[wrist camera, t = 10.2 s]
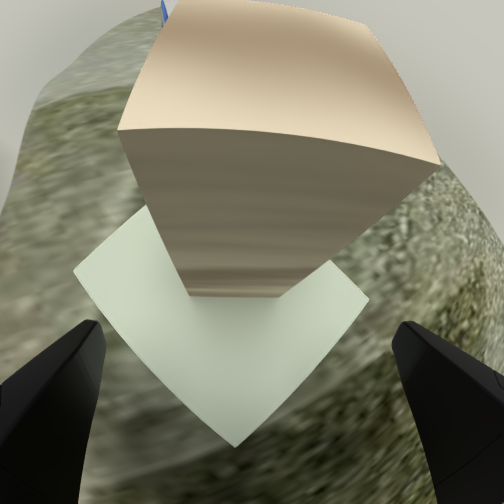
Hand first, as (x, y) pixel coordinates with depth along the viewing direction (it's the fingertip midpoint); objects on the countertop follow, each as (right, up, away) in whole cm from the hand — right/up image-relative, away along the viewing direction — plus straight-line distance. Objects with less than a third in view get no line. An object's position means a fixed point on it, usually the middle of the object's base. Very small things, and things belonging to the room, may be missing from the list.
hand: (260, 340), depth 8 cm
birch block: (-1, +2, +9) cm, 9 cm away
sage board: (-2, 0, +9) cm, 9 cm away
